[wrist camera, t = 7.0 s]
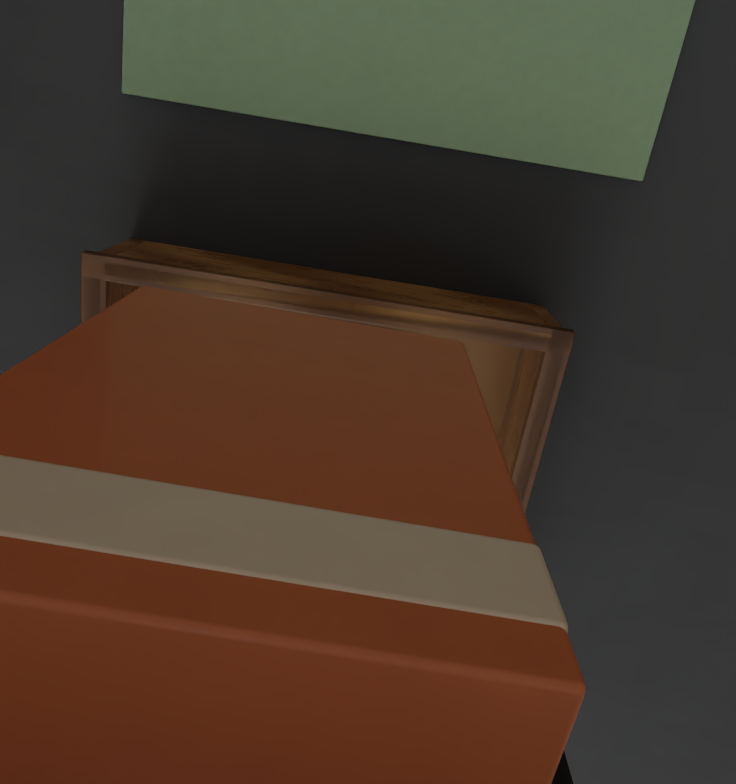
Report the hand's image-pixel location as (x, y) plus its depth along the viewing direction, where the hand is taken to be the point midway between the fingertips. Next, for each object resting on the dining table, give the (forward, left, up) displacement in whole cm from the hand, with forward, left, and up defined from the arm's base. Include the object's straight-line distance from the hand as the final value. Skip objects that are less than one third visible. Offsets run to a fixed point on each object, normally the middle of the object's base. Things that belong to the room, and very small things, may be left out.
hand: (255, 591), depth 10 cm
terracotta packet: (0, 0, -2) cm, 2 cm away
